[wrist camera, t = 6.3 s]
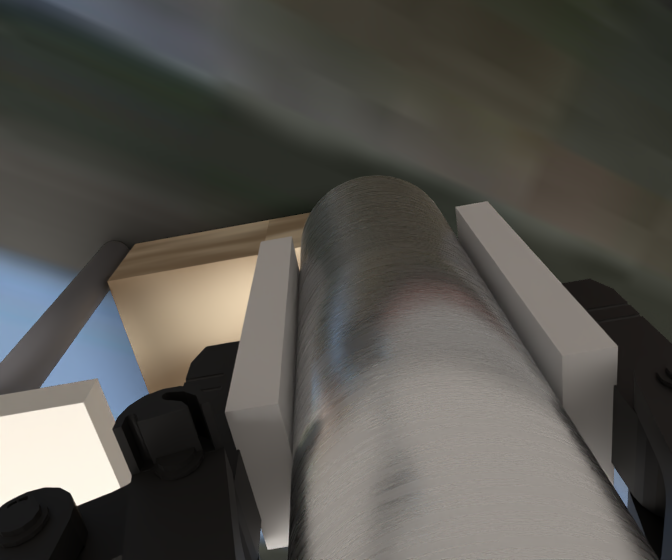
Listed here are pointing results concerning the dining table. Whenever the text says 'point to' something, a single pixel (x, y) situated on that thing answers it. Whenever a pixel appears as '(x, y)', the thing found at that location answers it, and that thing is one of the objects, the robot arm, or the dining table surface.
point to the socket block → (190, 293)
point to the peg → (428, 404)
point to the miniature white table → (60, 401)
